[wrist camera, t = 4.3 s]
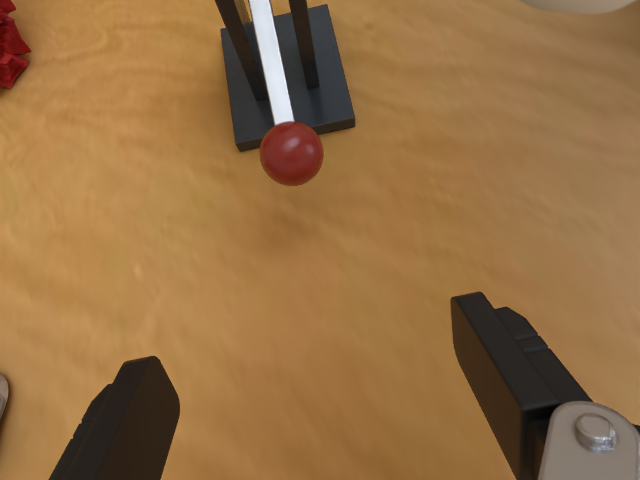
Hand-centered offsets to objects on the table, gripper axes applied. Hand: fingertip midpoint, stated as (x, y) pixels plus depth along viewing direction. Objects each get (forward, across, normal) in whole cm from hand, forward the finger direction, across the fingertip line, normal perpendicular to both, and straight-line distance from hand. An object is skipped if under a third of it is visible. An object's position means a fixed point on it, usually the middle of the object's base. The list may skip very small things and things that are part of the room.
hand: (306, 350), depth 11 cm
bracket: (+27, 0, -4) cm, 27 cm away
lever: (+17, 0, -7) cm, 18 cm away
